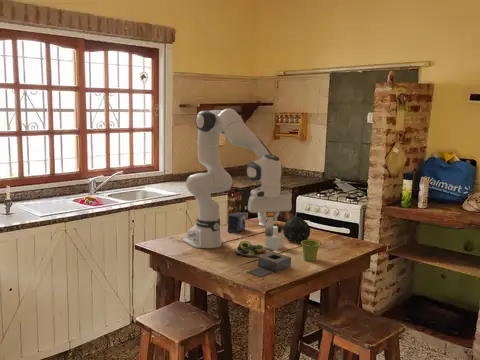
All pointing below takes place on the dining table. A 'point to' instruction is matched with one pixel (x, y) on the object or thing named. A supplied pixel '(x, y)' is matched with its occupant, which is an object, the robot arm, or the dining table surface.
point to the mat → (259, 272)
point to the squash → (296, 229)
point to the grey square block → (274, 262)
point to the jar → (261, 219)
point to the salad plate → (251, 249)
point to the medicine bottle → (275, 239)
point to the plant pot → (310, 249)
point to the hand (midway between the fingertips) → (269, 221)
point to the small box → (236, 222)
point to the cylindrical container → (269, 224)
